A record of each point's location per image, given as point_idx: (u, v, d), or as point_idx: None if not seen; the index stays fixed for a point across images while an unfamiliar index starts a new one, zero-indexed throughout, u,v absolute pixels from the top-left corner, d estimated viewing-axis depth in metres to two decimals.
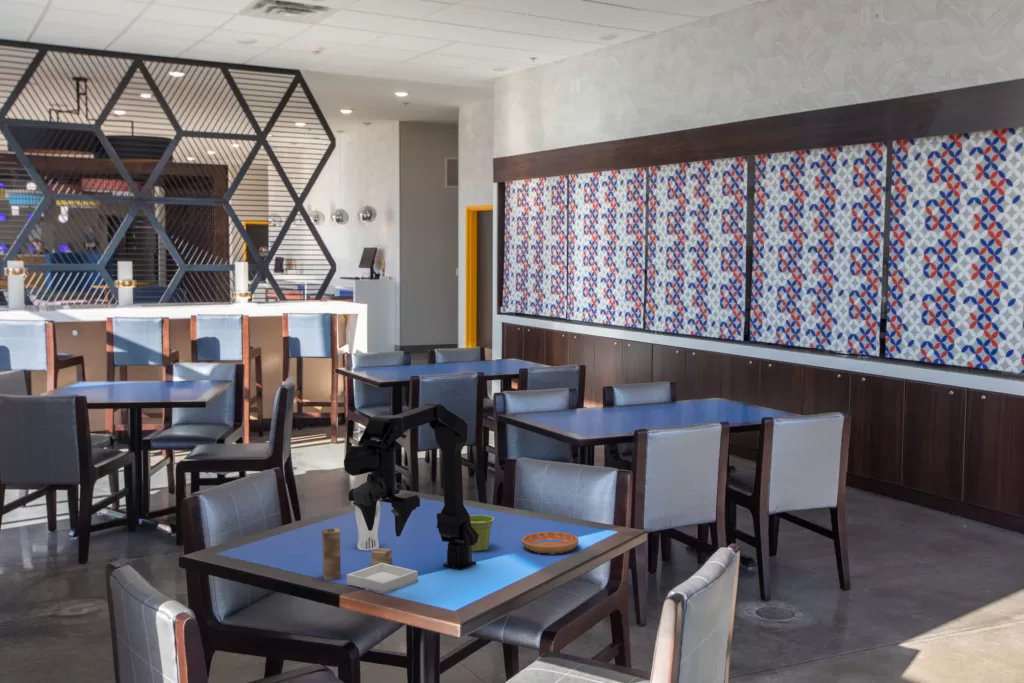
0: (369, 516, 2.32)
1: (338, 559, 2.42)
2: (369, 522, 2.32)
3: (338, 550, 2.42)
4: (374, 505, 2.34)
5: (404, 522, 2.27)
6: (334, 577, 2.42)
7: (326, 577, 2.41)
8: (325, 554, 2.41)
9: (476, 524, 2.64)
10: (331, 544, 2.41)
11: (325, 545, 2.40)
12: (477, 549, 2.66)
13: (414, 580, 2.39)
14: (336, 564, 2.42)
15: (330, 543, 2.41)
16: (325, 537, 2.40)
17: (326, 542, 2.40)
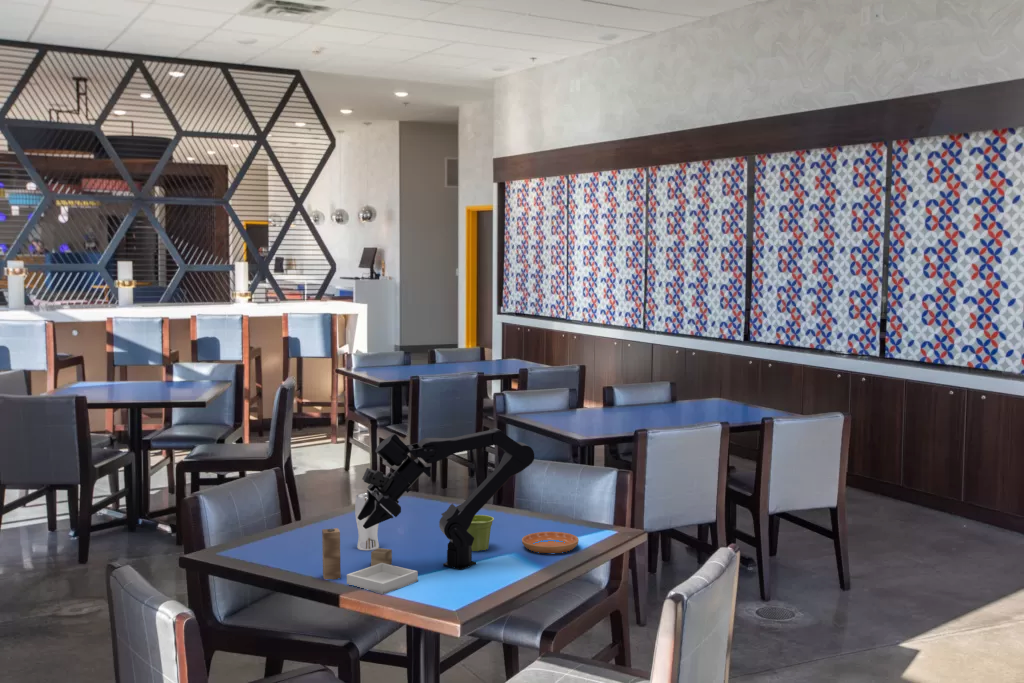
0: (367, 508, 2.50)
1: (338, 559, 2.42)
2: (362, 511, 2.49)
3: (338, 550, 2.42)
4: None
5: (376, 521, 2.40)
6: (334, 577, 2.42)
7: (326, 577, 2.41)
8: (325, 554, 2.41)
9: (476, 524, 2.64)
10: (331, 544, 2.41)
11: (325, 545, 2.40)
12: (477, 549, 2.66)
13: (414, 580, 2.39)
14: (336, 564, 2.42)
15: (330, 543, 2.41)
16: (325, 537, 2.40)
17: (326, 542, 2.40)
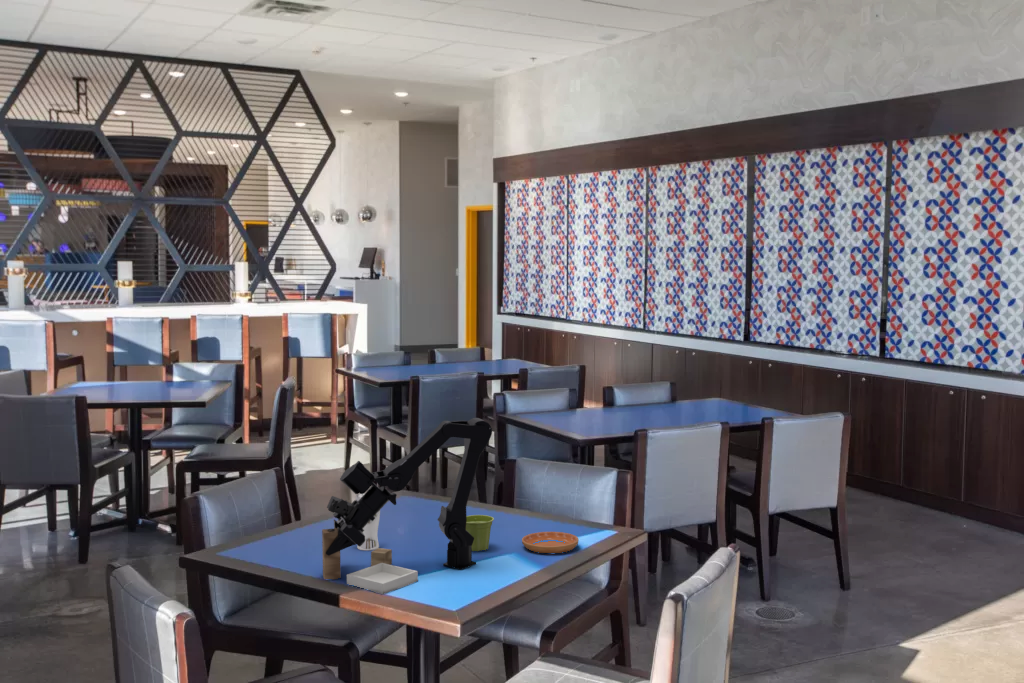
0: None
1: (338, 559, 2.42)
2: None
3: None
4: None
5: (339, 548, 2.40)
6: (334, 577, 2.42)
7: (326, 577, 2.41)
8: (325, 554, 2.41)
9: (476, 524, 2.64)
10: None
11: (325, 545, 2.40)
12: (477, 549, 2.66)
13: (414, 580, 2.39)
14: (336, 564, 2.42)
15: (330, 543, 2.41)
16: (325, 537, 2.40)
17: (326, 542, 2.40)
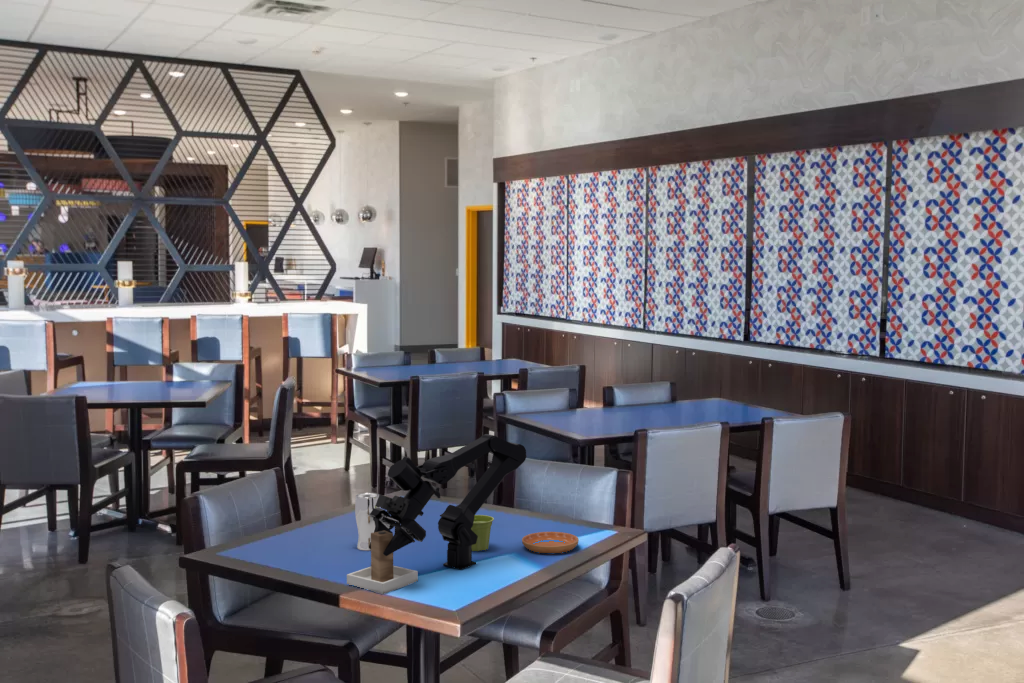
0: None
1: (391, 561, 2.37)
2: None
3: None
4: None
5: (397, 547, 2.35)
6: None
7: (381, 581, 2.36)
8: (380, 557, 2.35)
9: (476, 524, 2.64)
10: (386, 546, 2.36)
11: (380, 548, 2.35)
12: (477, 549, 2.66)
13: (414, 580, 2.39)
14: (390, 567, 2.37)
15: (384, 546, 2.36)
16: (380, 540, 2.35)
17: (381, 545, 2.35)
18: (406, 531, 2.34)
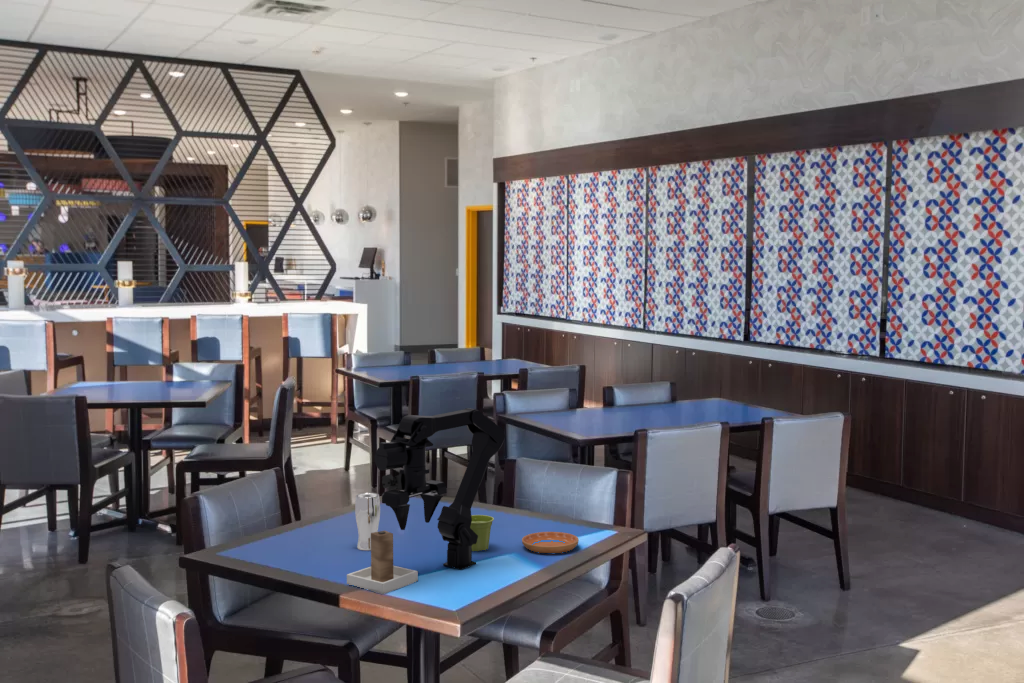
0: (426, 509, 2.47)
1: (391, 561, 2.37)
2: (425, 514, 2.47)
3: (391, 552, 2.37)
4: (433, 501, 2.46)
5: (402, 518, 2.38)
6: None
7: (381, 581, 2.36)
8: (380, 557, 2.35)
9: (476, 524, 2.64)
10: (386, 546, 2.36)
11: (380, 548, 2.35)
12: (477, 549, 2.66)
13: (414, 580, 2.39)
14: (390, 567, 2.37)
15: (384, 546, 2.36)
16: (380, 540, 2.35)
17: (381, 545, 2.35)
18: (390, 503, 2.37)
